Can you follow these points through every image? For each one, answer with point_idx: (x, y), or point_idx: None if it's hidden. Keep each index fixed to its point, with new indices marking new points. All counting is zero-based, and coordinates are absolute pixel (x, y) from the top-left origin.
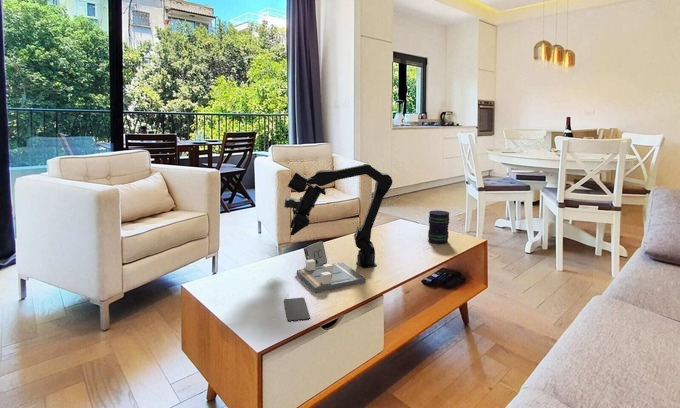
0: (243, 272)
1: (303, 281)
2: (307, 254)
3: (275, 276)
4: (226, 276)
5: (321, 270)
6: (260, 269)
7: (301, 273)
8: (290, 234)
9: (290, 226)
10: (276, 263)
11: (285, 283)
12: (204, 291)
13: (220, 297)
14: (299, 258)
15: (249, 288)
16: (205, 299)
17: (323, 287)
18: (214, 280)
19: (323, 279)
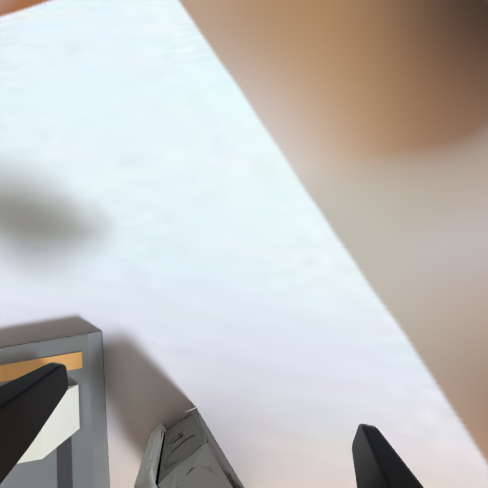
0: (210, 127)
1: (15, 345)
2: (179, 444)
3: (121, 239)
4: (188, 73)
5: (28, 467)
6: (223, 190)
7: (33, 349)
8: (50, 364)
9: (366, 438)
10: (279, 263)
11: (31, 267)
12: (81, 16)
13: (12, 56)
14: (325, 388)
15: (43, 138)
16: (18, 20)
17: None
18: (164, 40)
19: None
